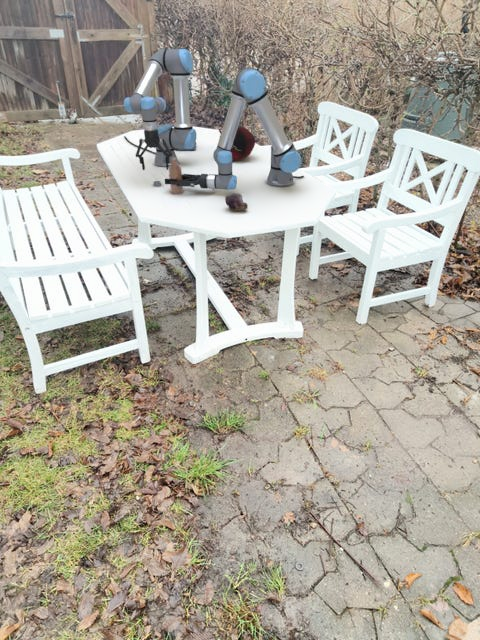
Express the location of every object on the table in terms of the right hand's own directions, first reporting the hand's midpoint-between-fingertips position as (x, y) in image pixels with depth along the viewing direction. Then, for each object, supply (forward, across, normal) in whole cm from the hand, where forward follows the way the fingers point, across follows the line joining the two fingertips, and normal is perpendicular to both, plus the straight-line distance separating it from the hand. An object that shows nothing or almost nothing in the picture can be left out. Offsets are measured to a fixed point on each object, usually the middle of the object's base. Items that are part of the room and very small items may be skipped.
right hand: (167, 179), depth 245 cm
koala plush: (+19, +92, -7) cm, 95 cm away
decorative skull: (-24, +72, -7) cm, 76 cm away
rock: (-42, -22, -7) cm, 48 cm away
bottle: (-5, 0, -7) cm, 8 cm away
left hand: (+10, +10, +2) cm, 14 cm away
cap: (+10, +9, -5) cm, 14 cm away
